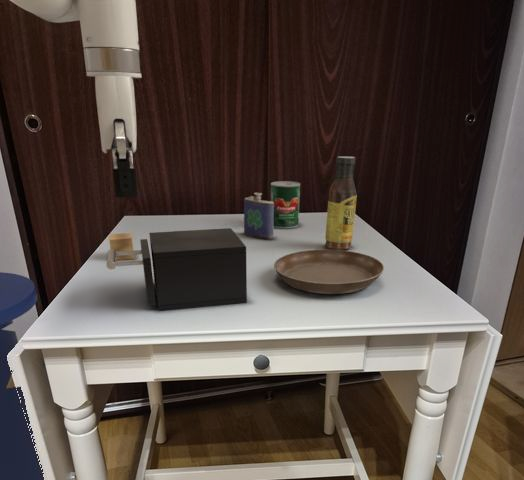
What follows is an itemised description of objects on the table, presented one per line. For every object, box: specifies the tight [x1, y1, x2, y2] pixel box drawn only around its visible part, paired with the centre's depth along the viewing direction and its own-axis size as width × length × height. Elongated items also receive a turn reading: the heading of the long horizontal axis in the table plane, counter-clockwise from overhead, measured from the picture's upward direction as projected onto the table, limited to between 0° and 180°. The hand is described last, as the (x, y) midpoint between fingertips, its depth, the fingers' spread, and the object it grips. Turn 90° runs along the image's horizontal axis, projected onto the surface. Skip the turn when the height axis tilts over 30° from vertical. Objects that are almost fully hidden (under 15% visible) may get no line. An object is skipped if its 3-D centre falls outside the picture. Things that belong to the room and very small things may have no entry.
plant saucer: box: [273, 249, 385, 295], centre depth 92 cm, size 21×21×3 cm
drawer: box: [106, 238, 156, 306], centre depth 83 cm, size 19×12×8 cm, turn 105°
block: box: [109, 232, 135, 261], centre depth 105 cm, size 5×5×5 cm
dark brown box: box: [149, 227, 248, 312], centre depth 84 cm, size 15×13×10 cm
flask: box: [243, 192, 275, 241], centre depth 119 cm, size 9×3×11 cm, turn 49°
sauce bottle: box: [325, 155, 358, 251], centre depth 109 cm, size 7×6×20 cm
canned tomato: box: [270, 180, 301, 229], centre depth 130 cm, size 8×8×11 cm
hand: (126, 191), depth 76 cm, fingers open, 9 cm apart
